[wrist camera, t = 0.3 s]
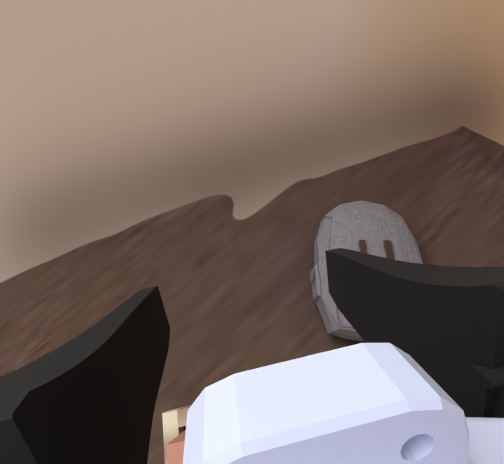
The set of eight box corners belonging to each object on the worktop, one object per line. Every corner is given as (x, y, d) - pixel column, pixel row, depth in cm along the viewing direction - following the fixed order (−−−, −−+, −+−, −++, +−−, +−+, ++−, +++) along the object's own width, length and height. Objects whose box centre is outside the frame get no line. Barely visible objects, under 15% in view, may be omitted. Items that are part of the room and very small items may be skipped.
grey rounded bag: (424, 347, 37) (398, 214, 45) (464, 343, 29) (424, 184, 37) (308, 341, 38) (304, 212, 46) (318, 335, 30) (311, 183, 39)
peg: (224, 460, 32) (212, 487, 25) (191, 468, 32) (169, 498, 25) (219, 420, 34) (206, 435, 27) (187, 427, 34) (166, 444, 27)
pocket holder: (247, 479, 32) (246, 487, 30) (173, 497, 31) (167, 506, 29) (234, 395, 35) (232, 397, 33) (168, 410, 35) (162, 413, 33)
